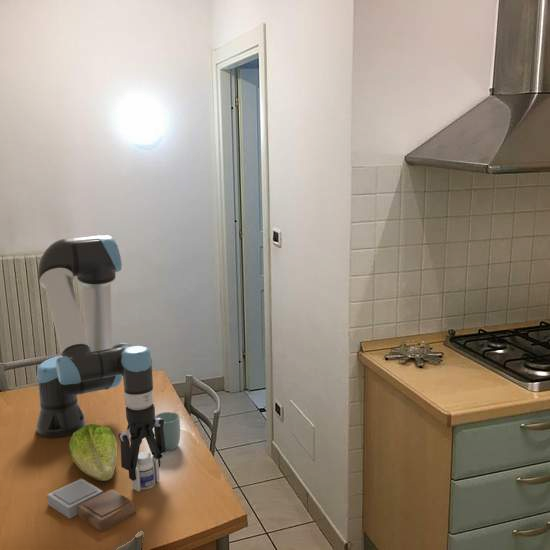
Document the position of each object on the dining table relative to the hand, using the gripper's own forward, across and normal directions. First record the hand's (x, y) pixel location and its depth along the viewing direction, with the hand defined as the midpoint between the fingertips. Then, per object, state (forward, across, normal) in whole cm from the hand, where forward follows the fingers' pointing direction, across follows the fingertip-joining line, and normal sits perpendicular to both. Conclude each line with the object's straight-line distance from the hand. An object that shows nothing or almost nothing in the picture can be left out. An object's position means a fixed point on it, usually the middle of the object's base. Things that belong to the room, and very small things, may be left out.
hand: (146, 484), depth 172 cm
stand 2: (0, -15, -4) cm, 15 cm away
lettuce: (0, -3, +18) cm, 19 cm away
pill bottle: (+1, 0, 0) cm, 1 cm away
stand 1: (0, -17, +7) cm, 19 cm away
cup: (0, +18, +12) cm, 22 cm away
